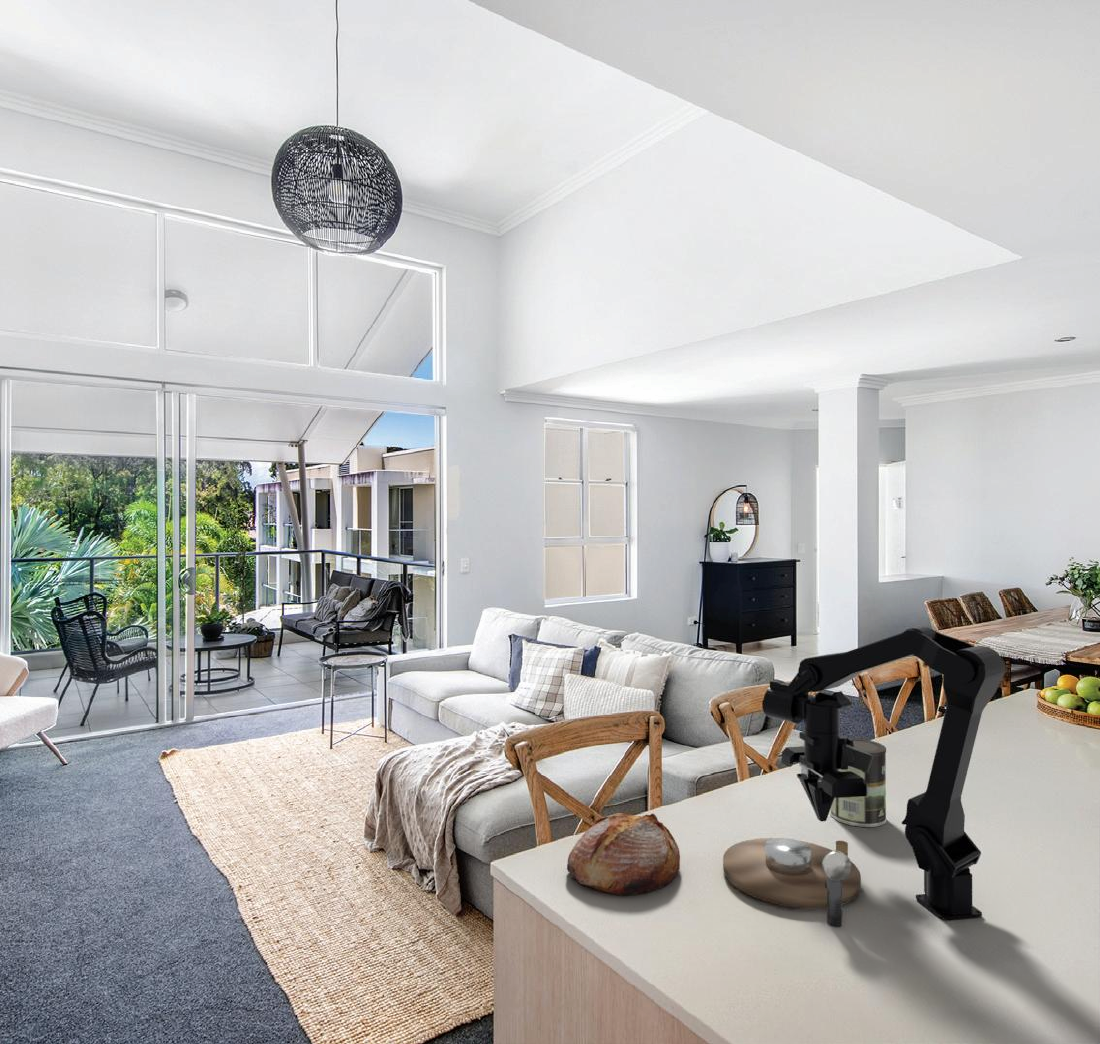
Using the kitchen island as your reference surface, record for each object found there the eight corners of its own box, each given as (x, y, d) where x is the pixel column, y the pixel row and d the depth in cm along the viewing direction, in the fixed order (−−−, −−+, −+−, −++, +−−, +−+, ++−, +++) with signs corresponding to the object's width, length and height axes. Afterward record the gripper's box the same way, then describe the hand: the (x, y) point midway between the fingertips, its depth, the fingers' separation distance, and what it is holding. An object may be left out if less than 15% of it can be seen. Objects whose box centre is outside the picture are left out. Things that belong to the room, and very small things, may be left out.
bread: (702, 880, 121) (705, 820, 121) (612, 918, 110) (615, 851, 109) (633, 840, 134) (636, 786, 134) (546, 870, 123) (548, 810, 122)
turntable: (889, 902, 111) (889, 872, 111) (756, 913, 107) (756, 882, 107) (817, 842, 131) (817, 817, 131) (704, 851, 128) (704, 824, 128)
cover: (819, 874, 116) (819, 855, 116) (776, 877, 115) (776, 857, 115) (799, 855, 123) (799, 837, 123) (758, 857, 122) (758, 839, 122)
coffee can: (879, 809, 149) (879, 739, 149) (892, 830, 139) (892, 754, 139) (825, 805, 151) (825, 736, 151) (834, 825, 141) (834, 751, 141)
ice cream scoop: (851, 926, 105) (851, 852, 105) (825, 928, 105) (824, 853, 105) (839, 914, 108) (839, 842, 108) (814, 917, 108) (813, 844, 108)
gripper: (898, 742, 119) (898, 840, 119) (836, 714, 138) (837, 798, 137) (833, 745, 117) (834, 844, 117) (780, 716, 136) (780, 801, 136)
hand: (822, 820), depth 127 cm, fingers closed
